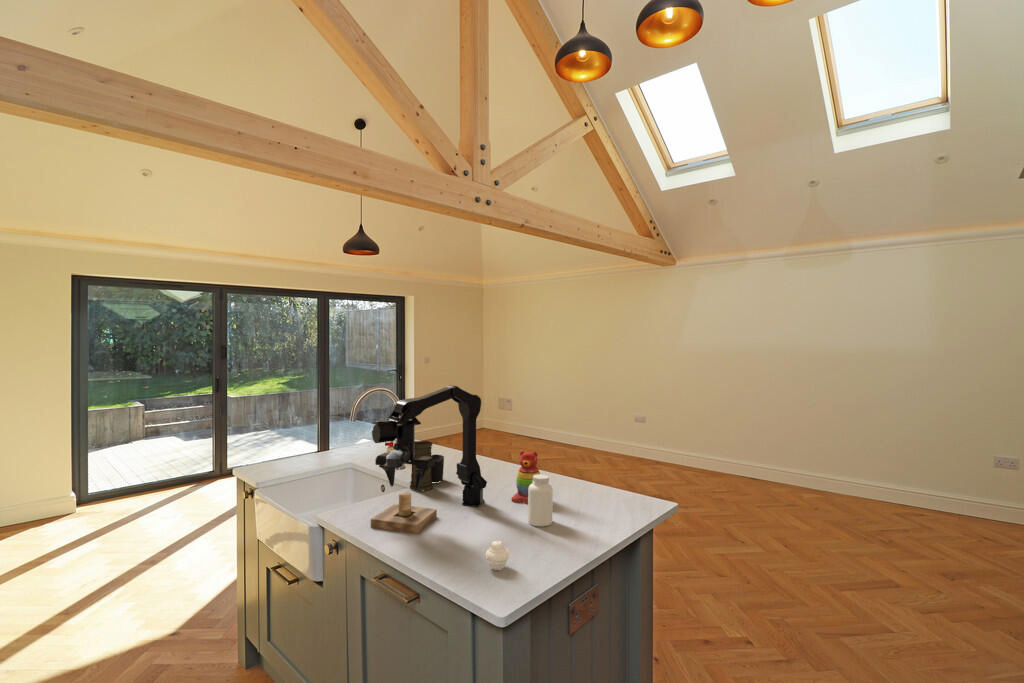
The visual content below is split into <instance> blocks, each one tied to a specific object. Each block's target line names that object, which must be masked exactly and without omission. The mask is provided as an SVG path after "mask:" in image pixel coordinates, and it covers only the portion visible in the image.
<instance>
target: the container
mask: <svg viewBox="0 0 1024 683" xmlns="http://www.w3.org/2000/svg"><path fill="white" fill-rule="evenodd" d="M432 446H433V442H432V441H428V440H419V441H418V440H416V445H414V454H416V457H415V458H414V459H419V458H421V457H423V456H427V457H431V455H433V454H432V448H433V447H432ZM416 469H418V468H417V467H416V465H412V464H411V474H410V482H409V483H410V485H409V488H411V489H414V490H427V491H429V490H428V489H430V490H431V488H432V489H433V484H432V480H431V475H432V474H431V468H430V469H428V470H427V471H426V473H425V475H424V477H423V480H422V482H421V484H420V487H419V489H416V475H417V474H416V471H415V470H416ZM411 489H410V490H411Z"/></svg>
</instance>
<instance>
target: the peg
mask: <svg viewBox="0 0 1024 683" xmlns="http://www.w3.org/2000/svg"><path fill="white" fill-rule="evenodd" d="M398 505H399V508H398V517H405V518H409V517H410V516H411V506H412V492H411V491H401V492H399V493H398Z"/></svg>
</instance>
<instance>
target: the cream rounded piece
mask: <svg viewBox="0 0 1024 683" xmlns="http://www.w3.org/2000/svg"><path fill="white" fill-rule="evenodd" d="M509 556H510V552H509V550H508V548H506V547H505V544H504V542H503V541H501V540H494V541H492V542H491V543H490V547H489V548H488V549H487V550H486V552H485V558H486V561H487V563H488V566H489V567H490V569H491V570H492V569H494V570H493V571H495V570H499V571H502V570H503V569H505V568H504V567H505V566H506V564H507V562H508V560H509ZM501 569H502V570H501Z"/></svg>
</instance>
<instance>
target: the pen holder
mask: <svg viewBox="0 0 1024 683" xmlns="http://www.w3.org/2000/svg"><path fill="white" fill-rule="evenodd" d="M431 457H433V458H434V460H435V466H433V467H431V474H432V475H431V480H432V482H439V481H443V479H444V466H445V465H444V463H445V456H444V455H441V454H431Z"/></svg>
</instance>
